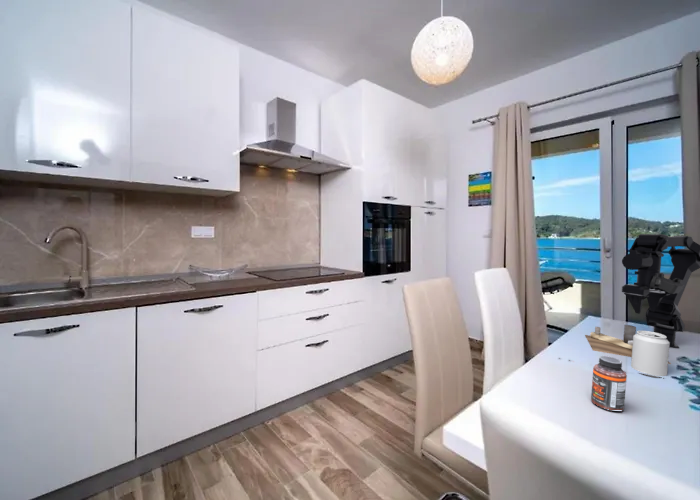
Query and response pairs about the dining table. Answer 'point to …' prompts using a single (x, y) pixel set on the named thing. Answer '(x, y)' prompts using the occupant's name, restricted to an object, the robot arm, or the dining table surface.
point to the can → (650, 353)
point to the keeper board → (610, 347)
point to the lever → (628, 336)
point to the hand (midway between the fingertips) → (645, 312)
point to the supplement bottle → (609, 384)
